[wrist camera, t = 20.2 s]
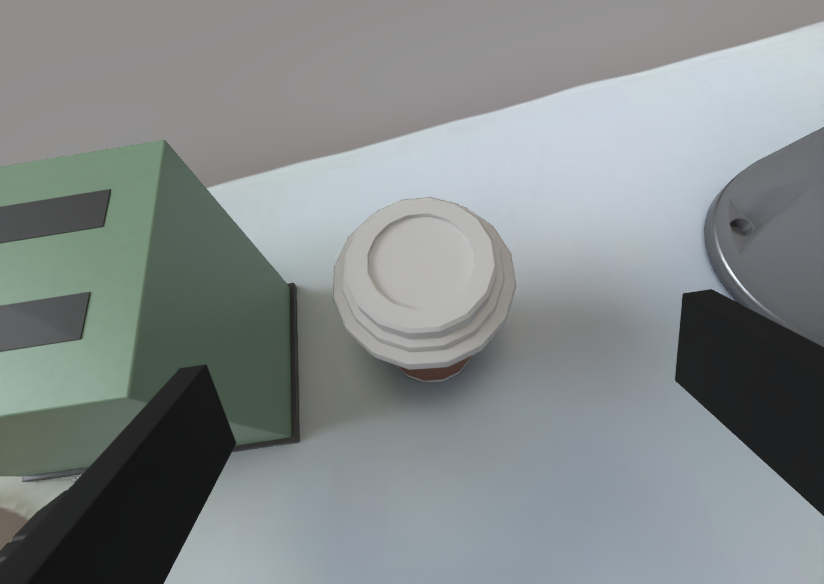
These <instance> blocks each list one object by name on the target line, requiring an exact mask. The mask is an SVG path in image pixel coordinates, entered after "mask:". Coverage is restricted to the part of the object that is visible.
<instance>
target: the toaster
mask: <svg viewBox="0 0 824 584" xmlns="http://www.w3.org/2000/svg"><path fill="white" fill-rule="evenodd" d="M205 364H207V367H208V369H209V372H210V374H211V377H212V380H213V382H214V385H215V388H216V390H217V393H218V396H219V398H220V401H221V403H222V406H223V409H224V411H225V414H226V417H227V419H228V422H229V425H230V427H231V430H232V433H233V435H234V438H235V440H236V445H235V447H234V448H233V450H232V452H236V451H243V450H250V449H257V448H264V447H271V446H278V445H284V444H291V443H298V442H299V402H298V351H297V300H296V285H295V284H294V283H289V284H287V283H286V282H285V281H284V280H283V278H282V277H281V276H280V275H279V274H278V272H277V271H276V270H275V269H274V268H273V267H272V265H271V264H270V263H269V262H268V261H267V260H266V258H265V257H264V256H263V255H262V254H261V252H260V251H259V250H258V249H257V248H256V247H255V245H254V244H253V243H252V242H251V241H250V240H249V238H248V237H247V236H246V235H245V234H244V232H243V231H242V230H241V229H240V228H239V227H238V225H237V224H236V223H235V222H234V221H233V219H232V218H231V217H230V216H229V215H228V214H227V212H226V211H225V210H224V209H223V208H222V207H221V205H220V204H219V203H218V202H217V201H216V199H215V198H214V197H213V196H212V195H211V194H210V192H209V191H208V190H207V189H206V188H205V187H204V185H203V184H202V183H201V182H200V181H199V179H198V178H197V177H196V176H195V175H194V174H193V172H192V171H191V170H190V169H189V168H188V166H187V165H186V164H185V163H184V162H183V161H182V159H181V158H180V157H179V156H178V155H177V154H176V152H175V151H174V150H173V149H172V148H171V146H170V145H169V144H168V143H167V142H166V141H165V140H161V141H156V142H149V143H143V144H137V145H131V146H125V147H118V148H113V149H106V150H100V151H94V152H88V153H82V154H76V155H70V156H64V157H57V158H51V159H45V160H39V161H33V162H27V163H21V164H15V165H9V166H2V167H0V476H23V477H22V482H30V481H37V480H44V479H51V478H58V477H65V476H72V475H79V474H83V473H84V472H85V471H86V470H87V469H88V468H89V467H90V466H91V465H92V463H93V462H94V461H95V460H96V459H97V458H98V457H99V456H100V455H101V454H102V453H103V451H104V450H105V449H106V448H107V447H108V446H109V445H110V444H111V443H112V442H113V440H114V439H115V438H116V437H117V436H118V435H119V434H120V433H121V432H122V431H123V430H124V428H125V427H126V426H127V425H128V424H129V423H130V422H131V421H132V420H133V419H134V418H135V416H136V415H137V414H138V413H139V412H140V411H141V410H142V409H143V408H144V407H145V406H146V404H147V403H148V402H149V401H150V400H151V399H152V398H153V397H154V396H155V395H156V394H157V392H158V391H159V390H160V389H161V388H162V387H163V386H164V385H165V384H166V383H167V382H168V380H169V379H170V378H171V377H172V376H173V375H174V374H175V373H176V372H177V371H178V370H179V368H184V367H191V366H198V365H205Z"/></svg>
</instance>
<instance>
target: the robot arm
mask: <svg viewBox="0 0 824 584" xmlns="http://www.w3.org/2000/svg"><path fill="white" fill-rule="evenodd" d="M705 244H706V249H707V253H708V256H709V259H710V262H711V264H712V267H713V269H714V271H715V273H716V274H717V276H718V278H719V280H720V281H721V283H722V284H723V285H724V287H725V288H726V290H727V291H728V292H729V293H730V294H731V296H732V297H733V298H734V299H735V300H736V301H737V302H738V303H737V302H735V301H733V300H731V299H729V298H727V297H726V296H724V295H722V294H720V293H718V292H716V291H714V290H712V289H710V290H704V291H697V292H690V293H683V297H682V309H681V320H680V331H679V342H678V353H677V364H676V375H675V381H676V382H677V383H679V384H680V385H681V386H682V387H683V388H684V389H685V390H686V391H687V392H688V393H690V394H691V395H692V396H693V397H694V398H695V399H696V400H697V401H698V402H699V403H700V404H702V405H703V406H704V407H705V408H706V409H707V410H708V411H709V412H710V413H711V414H713V415H714V416H715V417H716V418H717V419H718V420H719V421H720V422H721V423H722V424H723V425H725V426H726V427H727V428H728V429H729V430H730V431H731V432H732V433H733V434H734V435H736V436H737V437H738V438H739V439H740V440H741V441H742V442H743V443H744V444H745V445H746V446H748V447H749V448H750V449H751V450H752V451H753V452H754V453H755V454H756V455H757V456H759V457H760V458H761V459H762V460H763V461H764V462H765V463H766V464H767V465H768V466H769V467H771V468H772V469H773V470H774V471H775V472H776V473H777V474H778V475H779V476H780V477H782V478H783V479H784V480H785V481H786V482H787V483H788V484H789V485H790V486H791V487H792V488H794V489H795V490H796V491H797V492H798V493H799V494H800V495H801V496H802V497H803V498H805V499H806V500H807V501H808V502H809V503H810V504H811V505H812V506H813V507H814V508H816V509H817V510H818V511H819V512H820V513H821V514H822V515H823V516H824V127H823V128H821V129H819V130H817V131H815V132H813V133H811V134H809V135H807V136H805V137H803V138H801V139H799V140H797V141H795V142H793V143H792V144H790V145H788V146H786V147H784V148H782V149H780V150H778V151H776V152H774V153H772V154H770V155H768V156H766V157H764V158H762V159H760V160H758V161H757V162H755V163H753V164H752V165H750V166H749V167H747V168H746V169H745V170H743V171H742V172H741V173H739V174H738V175H737V176H736V177H734V178H733V179H732V180H731V181H730V182H729V183H728V184H727V185H726V186H725V188H724V189H723V190H722V191H721V192H720V193H719V194H718V195H717V197H716V198H715V199H714V201H713V203H712V204H711V206H710V209H709V211H708V214H707V217H706V222H705ZM235 445H236V440H235V438H234V435H233V433H232V430H231V427H230V425H229V422H228V419H227V417H226V414H225V411H224V409H223V406H222V403H221V401H220V398H219V396H218V393H217V390H216V388H215V385H214V382H213V380H212V377H211V374H210V372H209V369H208V367H207V364H205V365H198V366H191V367H184V368H179V370H178V371H177V372H176V373H175V374H174V375H173V376H172V377H171V378H170V379H169V380H168V382H167V383H166V384H165V385H164V386H163V387H162V388H161V389H160V390H159V391H158V392H157V394H156V395H155V396H154V397H153V398H152V399H151V400H150V401H149V402H148V403H147V404H146V406H145V407H144V408H143V409H142V410H141V411H140V412H139V413H138V414H137V415H136V416H135V418H134V419H133V420H132V421H131V422H130V423H129V424H128V425H127V426H126V427H125V428H124V430H123V431H122V432H121V433H120V434H119V435H118V436H117V437H116V438H115V439H114V440H113V442H112V443H111V444H110V445H109V446H108V447H107V448H106V449H105V450H104V451H103V453H102V454H101V455H100V456H99V457H98V458H97V459H96V460H95V461H94V462H93V463H92V465H91V466H90V467H89V468H88V469H87V470H86V471H85V472H84V473H83V474H82V475H81V477H80V478H79V479H78V480H77V481H76V482H75V483H74V484H73V485H72V486H71V487H70V489H69V490H66V491H64V492H63V493H62V494H60V495H59V496H58V497H56V498H55V499H54V500H52V501H51V502H50V503H48V504H47V505H46V506H44V507H43V508H42V509H40V510H39V511H38V512H37V513H35V515H34V516H33V517H32V518H31V519H30V520H29V521H28V522H27V523H26V524H25V525H24V526H23V527H22V528H21V529H20V530H19V532H18V533H17V534H16V535H15V536H14V537H13V541H12V542H10V543H7V544H6V545H5V546H4V547H3V548H2V550H1V551H0V584H164V582H165V580H166V578H167V576H168V574H169V572H170V570H171V568H172V566H173V564H174V562H175V560H176V558H177V557H178V555H179V553H180V551H181V549H182V547H183V545H184V543H185V541H186V539H187V537H188V535H189V533H190V531H191V530H192V528H193V526H194V524H195V522H196V520H197V518H198V516H199V514H200V512H201V510H202V508H203V506H204V504H205V502H206V501H207V499H208V497H209V495H210V493H211V491H212V489H213V487H214V485H215V483H216V481H217V479H218V477H219V475H220V474H221V472H222V470H223V468H224V466H225V464H226V462H227V460H228V458H229V456H230V454H231V452H232V450H233V448H234V447H235Z"/></svg>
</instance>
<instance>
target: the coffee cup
mask: <svg viewBox="0 0 824 584" xmlns="http://www.w3.org/2000/svg"><path fill="white" fill-rule="evenodd" d="M515 288H516V281H515V275H514V269H513V262H512V256H511V253H510V251H509V250H508V248H507V247H506V245H505V244H504V242H503V240H502V239H501V237H500V236H499V234H498V233H497V231H496V230H495V228H494V227H493V226H492V225H491V224H490V223H488V222H487V221H485V220H484V219H482V218H481V217H479V216H478V215H476V214H475V213H473V212H472V211H470V210H469V209H468V208H466V207H462V206H460V205H458V204H456V203H452V202H448V201H444V200H440V199H436V198H432V197H428V198H416V199H405V200H401V201H399V202H396V203H394V204H392V205H389V206H387V207H385V208H382V209H380V210H378V211H377V212H375V213H374V214H373V215H371V216H370V217H369V218H368V219H367V220H366V221H365V222H364V223H363V224H362V225H361V226H360V227H359V228H358V229H357V230H355V231H354V232H353V233H352V234H351V235H350V236H349V237H348V239H347V241H346V243H345V245H344V247H343V249H342V251H341V253H340V256H339V258H338V260H337V262H336V264H335V266H334V283H333V301H334V303H335V305H336V308H337V310H338V313H339V315H340V317H341V320H342V322H343V324H344V327H345V329H346V331H347V332H348V334H349V335H350V336H351V337H352V338H354V339H355V340H356V341H357V342H358V343H359V344H360V345H361V346H362V347H363V348H364V349H366V350H367V351H368V352H369V353H370V354H371V355H372V356H373V357H374V358H377V359H380V360H383V361H386V362H389V363H392V364H394V365H395V366H396V367H397V368H398V369H399V370H401V371H402V372H403V373H404V374H405V375H406V376H407V377H410V378H413V379H416V380H419V381H421V382H424V383H426V382H442V381H445V380H447V379H449V378H451V377H453V376H455V375H457V374H459V373H460V372H461V371H462V370H463V368H464V367H465V366H466V365H467V364H468V363H469V362H470V360H471V358H472V355H474V354H476V353H478V352H480V351H482V349H483V348H484V347H485V346H486V345H487V344H488V343H489V341H490V340H491V339H492V338H493V337H494V336H495V334H496V333H497V332H498V331H499V330H500V329H501V327H502V326H503V325H504V324H505V322H506V319H507V316H508V312H509V309H510V306H511V302H512V299H513V295H514V292H515Z"/></svg>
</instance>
